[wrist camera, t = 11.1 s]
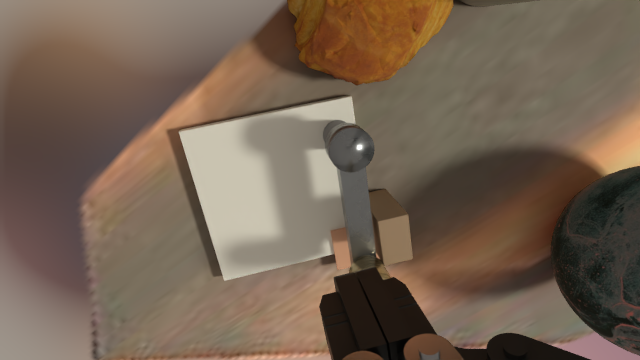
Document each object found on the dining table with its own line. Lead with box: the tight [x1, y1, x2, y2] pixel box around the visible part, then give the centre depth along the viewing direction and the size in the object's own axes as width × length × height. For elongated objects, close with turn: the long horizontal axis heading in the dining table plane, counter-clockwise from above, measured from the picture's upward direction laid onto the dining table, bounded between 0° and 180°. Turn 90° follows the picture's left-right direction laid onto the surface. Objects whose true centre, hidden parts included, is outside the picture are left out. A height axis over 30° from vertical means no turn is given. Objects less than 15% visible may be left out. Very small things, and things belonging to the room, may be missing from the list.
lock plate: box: [179, 95, 413, 281], centre depth 41 cm, size 20×19×7 cm
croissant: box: [287, 0, 453, 85], centre depth 36 cm, size 14×16×8 cm
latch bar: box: [325, 123, 391, 280], centre depth 37 cm, size 17×4×7 cm, turn 9°
